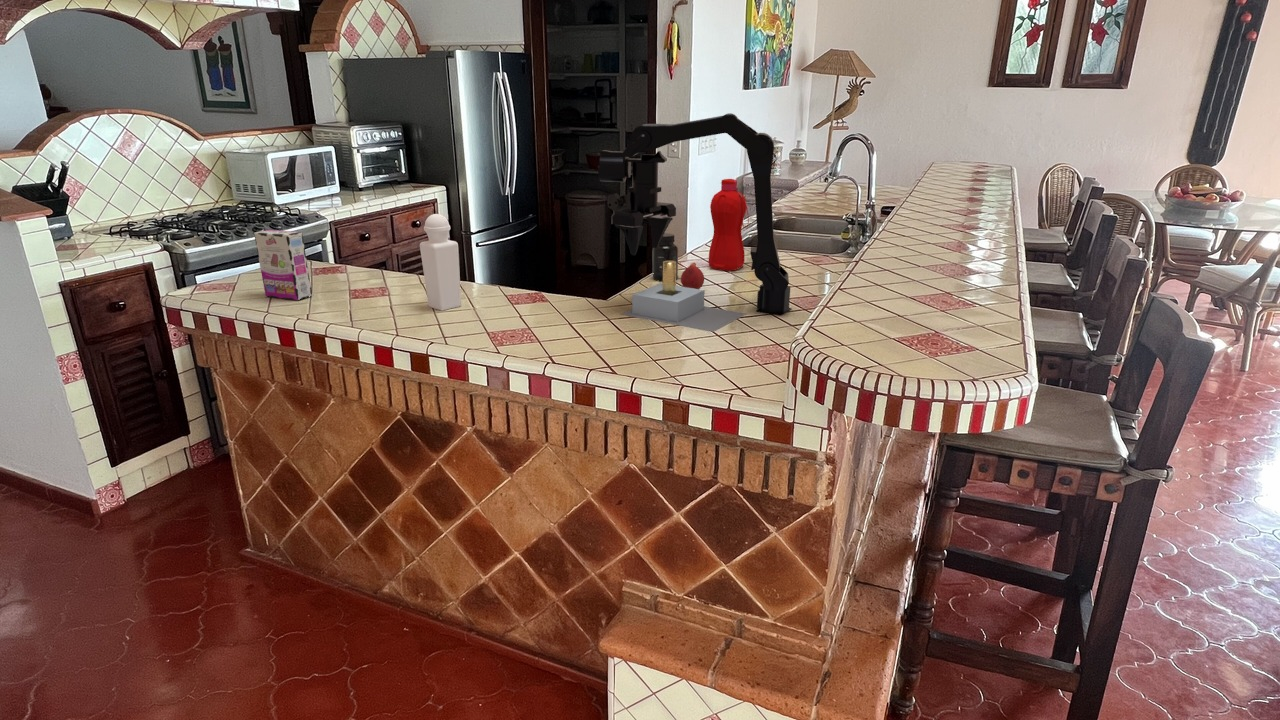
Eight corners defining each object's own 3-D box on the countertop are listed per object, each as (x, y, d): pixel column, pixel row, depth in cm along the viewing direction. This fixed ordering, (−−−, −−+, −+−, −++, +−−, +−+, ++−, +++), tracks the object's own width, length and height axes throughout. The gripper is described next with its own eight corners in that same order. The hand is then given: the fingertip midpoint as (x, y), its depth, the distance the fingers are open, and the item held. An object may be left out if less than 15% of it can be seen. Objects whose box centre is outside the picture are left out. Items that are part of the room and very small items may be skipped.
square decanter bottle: (464, 306, 178) (456, 213, 170) (440, 312, 173) (431, 217, 166) (449, 301, 182) (440, 210, 174) (425, 306, 177) (415, 214, 170)
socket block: (703, 308, 173) (704, 290, 171) (677, 321, 163) (677, 302, 162) (660, 301, 179) (660, 283, 177) (632, 313, 170) (632, 294, 168)
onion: (695, 297, 184) (696, 266, 181) (676, 294, 187) (676, 263, 184) (708, 293, 188) (708, 261, 185) (689, 289, 191) (689, 258, 188)
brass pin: (677, 304, 171) (678, 261, 168) (670, 307, 169) (671, 263, 165) (666, 302, 172) (667, 260, 169) (659, 305, 170) (660, 262, 167)
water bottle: (739, 273, 207) (742, 182, 198) (704, 269, 213) (706, 179, 204) (753, 267, 214) (757, 178, 206) (719, 262, 220) (722, 176, 211)
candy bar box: (313, 296, 187) (303, 231, 181) (298, 301, 182) (287, 235, 177) (280, 292, 191) (269, 228, 185) (264, 297, 186) (252, 231, 181)
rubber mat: (746, 315, 169) (746, 313, 169) (713, 334, 157) (713, 331, 156) (657, 300, 182) (657, 298, 181) (620, 316, 169) (620, 314, 169)
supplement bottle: (647, 279, 201) (647, 235, 197) (661, 274, 207) (661, 231, 203) (668, 282, 198) (669, 238, 194) (682, 277, 203) (683, 234, 199)
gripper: (637, 176, 178) (637, 240, 184) (591, 184, 163) (592, 254, 169) (677, 179, 172) (676, 246, 178) (633, 188, 158) (633, 260, 163)
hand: (644, 251), depth 172 cm, fingers open, 9 cm apart
